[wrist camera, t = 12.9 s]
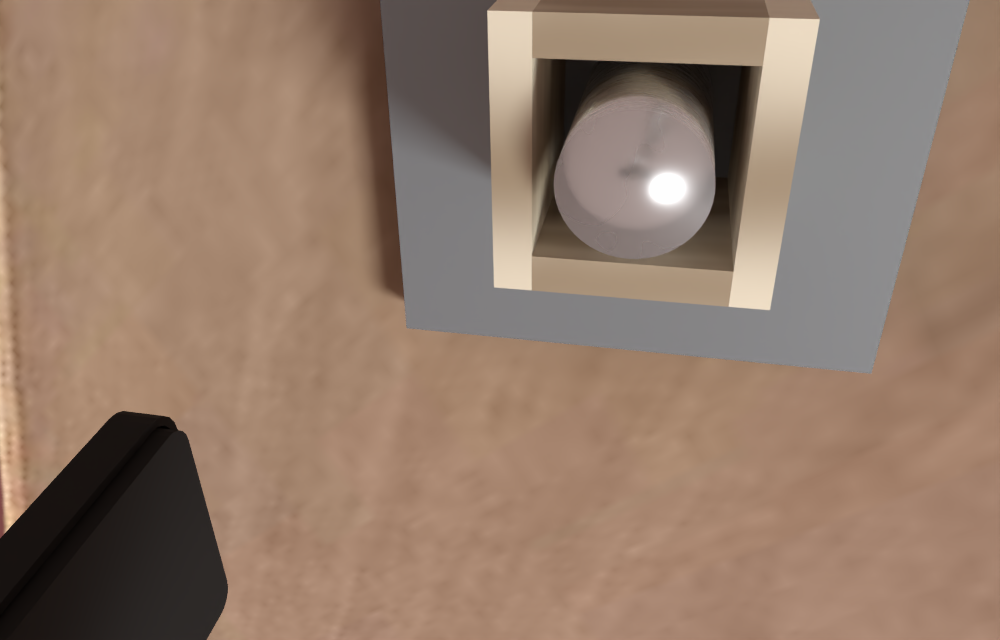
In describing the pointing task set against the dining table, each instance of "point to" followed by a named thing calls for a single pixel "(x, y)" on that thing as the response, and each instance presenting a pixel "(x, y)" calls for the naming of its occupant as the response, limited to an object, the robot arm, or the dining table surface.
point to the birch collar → (738, 199)
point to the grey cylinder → (639, 158)
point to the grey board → (813, 196)
